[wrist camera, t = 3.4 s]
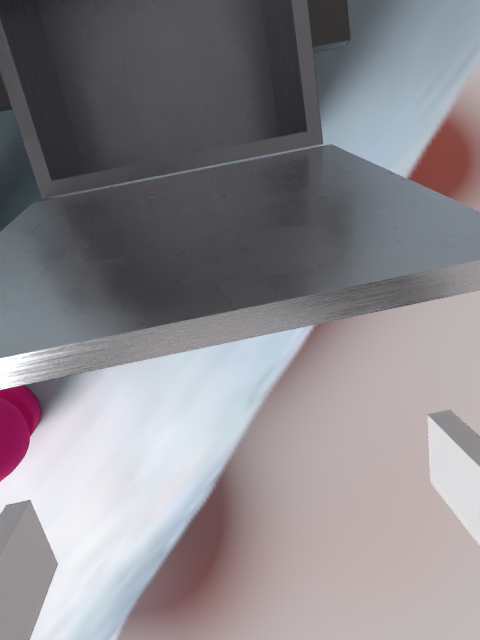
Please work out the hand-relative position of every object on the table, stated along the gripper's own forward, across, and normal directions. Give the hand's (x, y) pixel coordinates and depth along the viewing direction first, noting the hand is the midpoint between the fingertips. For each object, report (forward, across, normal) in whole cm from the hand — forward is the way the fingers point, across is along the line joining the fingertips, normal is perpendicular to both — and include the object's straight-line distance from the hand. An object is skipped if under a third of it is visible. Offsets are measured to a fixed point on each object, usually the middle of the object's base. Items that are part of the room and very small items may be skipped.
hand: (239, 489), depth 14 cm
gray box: (+23, 0, +18) cm, 29 cm away
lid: (+5, 0, +9) cm, 10 cm away
